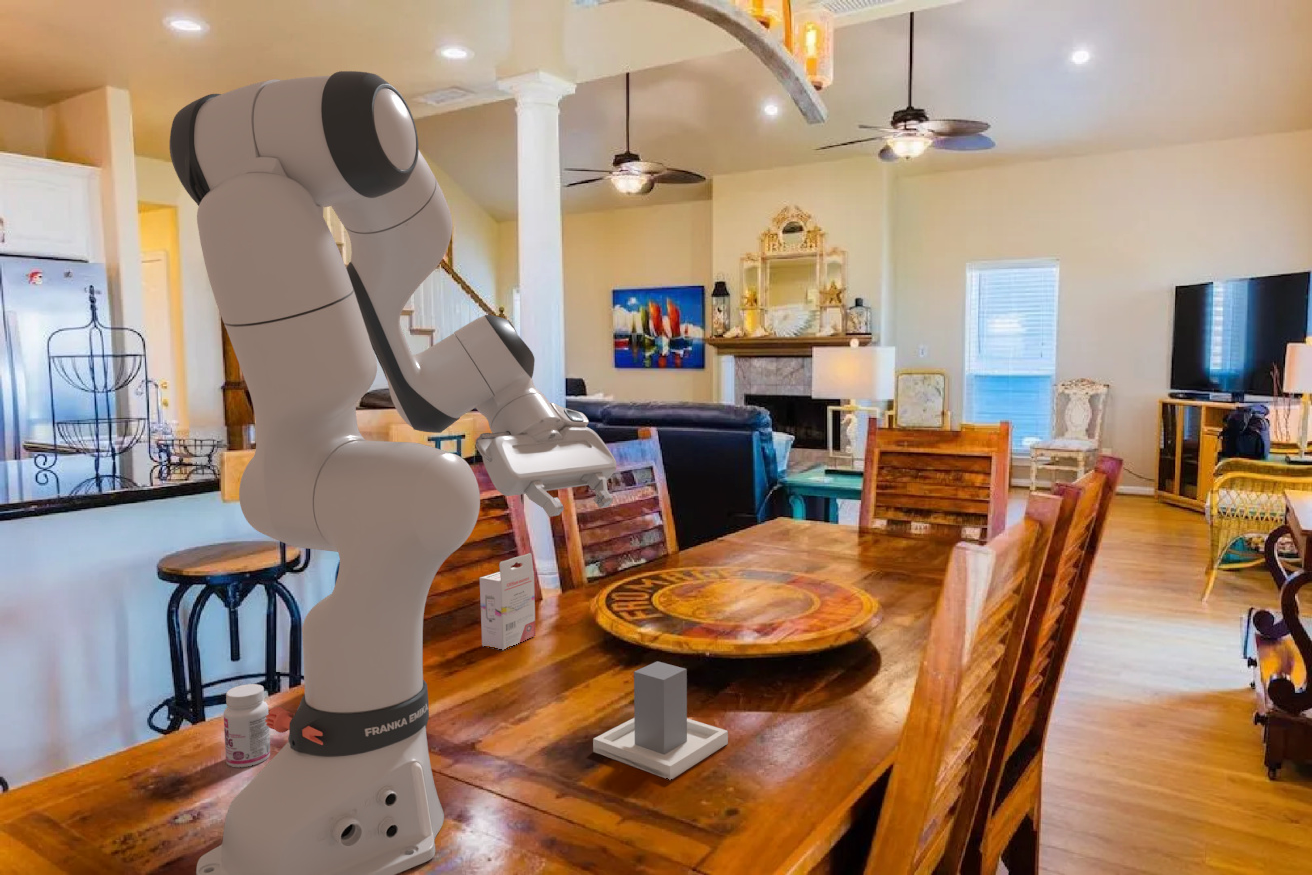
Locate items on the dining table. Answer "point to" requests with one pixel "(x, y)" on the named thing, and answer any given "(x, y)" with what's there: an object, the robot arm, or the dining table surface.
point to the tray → (671, 764)
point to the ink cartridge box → (508, 604)
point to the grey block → (660, 707)
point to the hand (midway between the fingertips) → (583, 508)
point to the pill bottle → (246, 726)
